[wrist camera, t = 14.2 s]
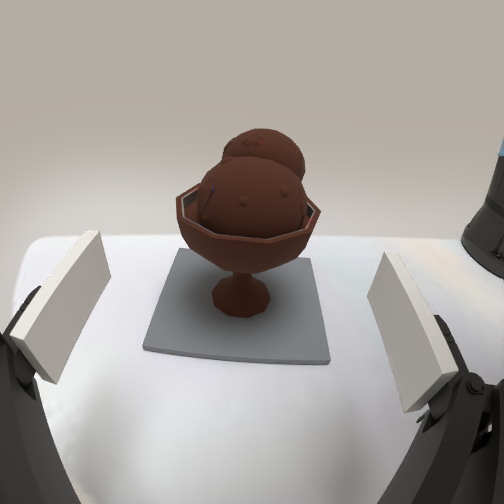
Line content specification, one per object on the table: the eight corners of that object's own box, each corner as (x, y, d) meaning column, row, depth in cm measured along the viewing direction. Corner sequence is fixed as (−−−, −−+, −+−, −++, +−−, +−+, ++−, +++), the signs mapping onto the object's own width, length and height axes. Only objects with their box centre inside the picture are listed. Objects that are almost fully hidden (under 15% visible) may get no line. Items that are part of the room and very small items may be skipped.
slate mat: (308, 262, 33) (309, 258, 33) (328, 364, 22) (330, 360, 21) (179, 252, 33) (179, 247, 33) (143, 349, 21) (142, 345, 21)
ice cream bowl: (194, 257, 31) (193, 116, 23) (297, 267, 31) (322, 127, 23) (167, 331, 23) (144, 144, 14) (303, 346, 22) (353, 161, 14)
